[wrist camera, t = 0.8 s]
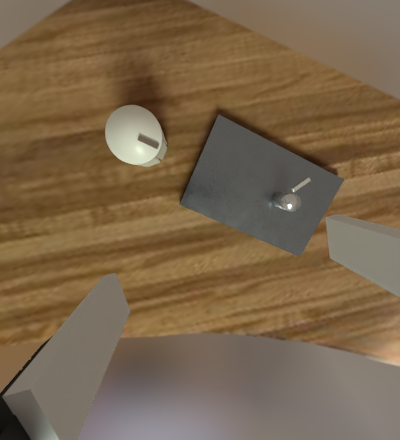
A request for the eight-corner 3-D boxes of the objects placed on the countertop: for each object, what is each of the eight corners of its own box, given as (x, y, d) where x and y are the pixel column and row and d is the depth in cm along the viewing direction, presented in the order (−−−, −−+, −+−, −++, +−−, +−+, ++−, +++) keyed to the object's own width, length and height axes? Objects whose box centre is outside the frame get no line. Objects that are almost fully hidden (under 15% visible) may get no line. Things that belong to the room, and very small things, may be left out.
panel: (179, 203, 32) (178, 208, 26) (217, 117, 29) (223, 103, 24) (295, 253, 35) (314, 267, 29) (337, 179, 32) (366, 180, 27)
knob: (118, 156, 30) (96, 149, 23) (133, 114, 29) (115, 93, 21) (158, 174, 30) (149, 173, 23) (174, 134, 29) (170, 120, 22)
